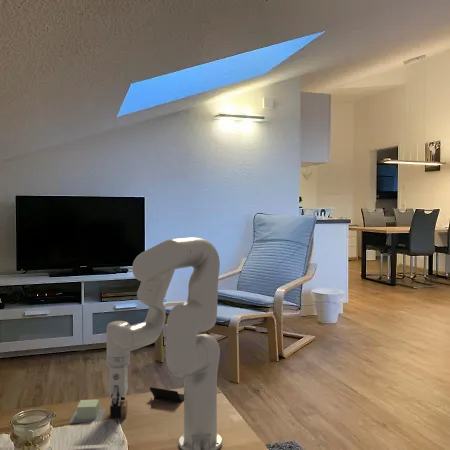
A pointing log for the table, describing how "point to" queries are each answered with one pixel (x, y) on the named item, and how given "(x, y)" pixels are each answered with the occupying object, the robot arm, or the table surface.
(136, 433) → the table surface
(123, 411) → the walnut cube
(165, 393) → the handheld gaming console
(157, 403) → the table surface
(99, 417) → the board
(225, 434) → the table surface
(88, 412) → the sage base block
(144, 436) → the table surface
